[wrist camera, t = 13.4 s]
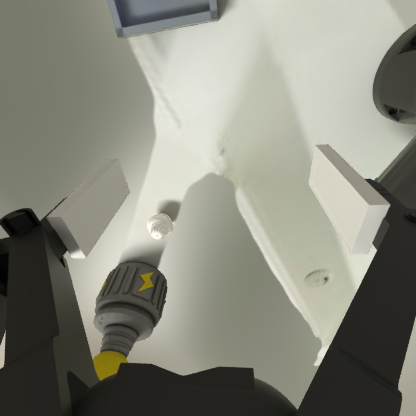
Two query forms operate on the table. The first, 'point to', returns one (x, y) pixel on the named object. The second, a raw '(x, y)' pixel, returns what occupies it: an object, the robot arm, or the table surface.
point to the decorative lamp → (127, 312)
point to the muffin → (160, 226)
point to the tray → (159, 15)
